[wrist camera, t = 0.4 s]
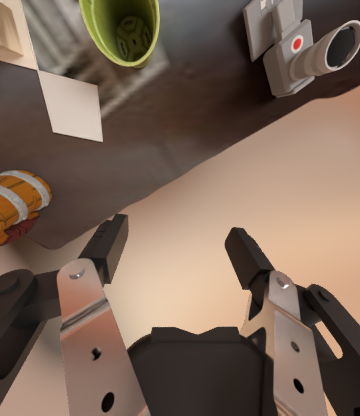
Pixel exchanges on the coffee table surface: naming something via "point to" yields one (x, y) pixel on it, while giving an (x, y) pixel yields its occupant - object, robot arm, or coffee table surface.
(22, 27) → the code tile
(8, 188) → the mug
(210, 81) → the coffee table surface
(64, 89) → the felt pad
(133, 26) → the plant pot
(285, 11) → the camera
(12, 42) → the beech block
